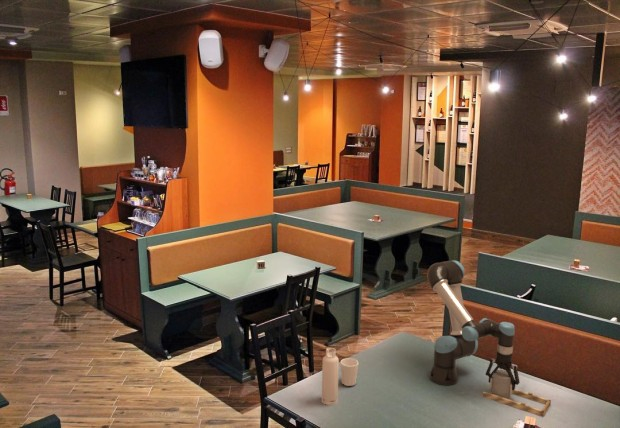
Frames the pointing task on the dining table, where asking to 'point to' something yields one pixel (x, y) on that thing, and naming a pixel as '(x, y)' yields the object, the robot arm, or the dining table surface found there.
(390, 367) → the dining table surface
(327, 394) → the bottle
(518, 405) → the beam frame
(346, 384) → the cup
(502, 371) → the speckled beige cylinder
